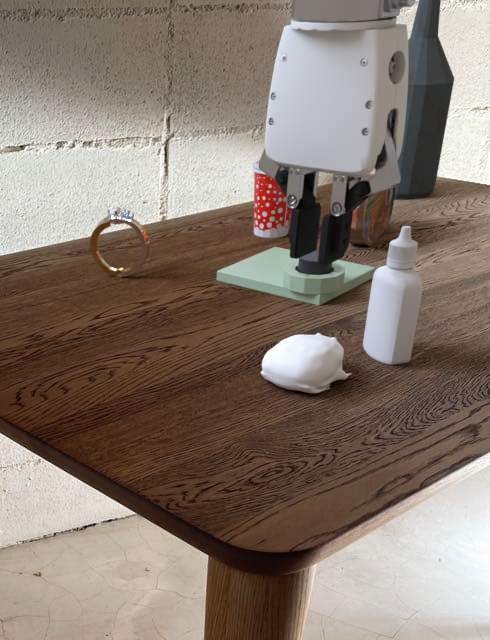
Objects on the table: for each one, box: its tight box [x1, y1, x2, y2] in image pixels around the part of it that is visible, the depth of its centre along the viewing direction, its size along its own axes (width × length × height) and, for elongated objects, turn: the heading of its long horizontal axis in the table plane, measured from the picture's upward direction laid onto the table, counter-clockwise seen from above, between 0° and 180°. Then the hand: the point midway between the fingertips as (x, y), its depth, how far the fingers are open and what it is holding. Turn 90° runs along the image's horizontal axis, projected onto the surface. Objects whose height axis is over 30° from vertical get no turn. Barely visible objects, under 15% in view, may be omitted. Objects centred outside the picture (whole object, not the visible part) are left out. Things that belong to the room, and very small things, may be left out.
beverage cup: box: [251, 159, 292, 239], centre depth 114 cm, size 6×6×14 cm
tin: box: [349, 167, 395, 247], centre depth 113 cm, size 15×3×8 cm, turn 150°
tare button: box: [298, 251, 332, 275], centre depth 96 cm, size 4×4×2 cm
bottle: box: [394, 0, 455, 200], centre depth 125 cm, size 10×10×30 cm
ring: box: [89, 206, 150, 279], centre depth 104 cm, size 7×3×8 cm, turn 66°
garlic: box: [260, 332, 353, 394], centre depth 79 cm, size 8×7×4 cm
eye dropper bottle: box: [362, 225, 424, 366], centre depth 80 cm, size 4×6×12 cm
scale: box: [216, 246, 377, 306], centre depth 101 cm, size 15×13×3 cm
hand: (317, 256), depth 74 cm, fingers closed
